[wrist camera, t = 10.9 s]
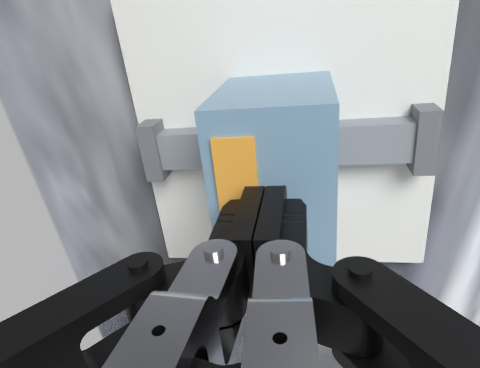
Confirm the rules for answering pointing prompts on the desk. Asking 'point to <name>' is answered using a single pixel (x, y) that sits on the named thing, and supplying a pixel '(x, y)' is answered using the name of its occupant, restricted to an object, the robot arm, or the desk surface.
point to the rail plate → (297, 61)
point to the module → (275, 146)
